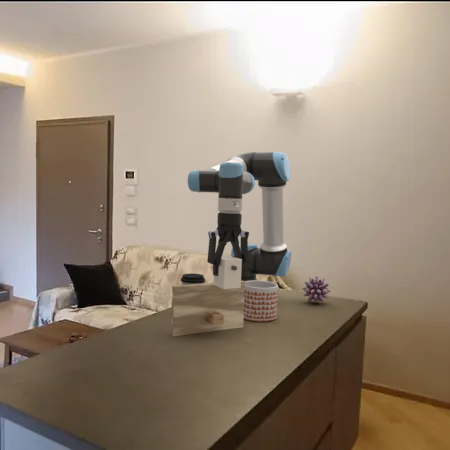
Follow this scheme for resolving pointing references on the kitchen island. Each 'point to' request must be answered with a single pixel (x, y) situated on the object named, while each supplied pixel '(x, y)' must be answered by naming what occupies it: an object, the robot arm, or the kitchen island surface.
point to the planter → (260, 301)
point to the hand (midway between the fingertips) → (227, 285)
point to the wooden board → (206, 308)
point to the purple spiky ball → (316, 289)
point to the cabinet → (230, 272)
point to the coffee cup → (192, 279)
